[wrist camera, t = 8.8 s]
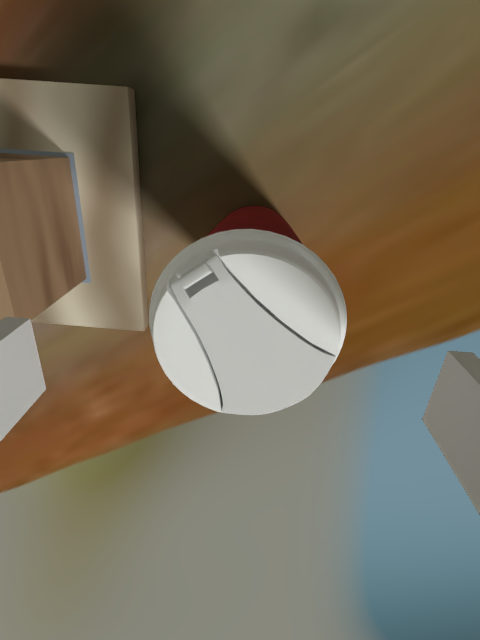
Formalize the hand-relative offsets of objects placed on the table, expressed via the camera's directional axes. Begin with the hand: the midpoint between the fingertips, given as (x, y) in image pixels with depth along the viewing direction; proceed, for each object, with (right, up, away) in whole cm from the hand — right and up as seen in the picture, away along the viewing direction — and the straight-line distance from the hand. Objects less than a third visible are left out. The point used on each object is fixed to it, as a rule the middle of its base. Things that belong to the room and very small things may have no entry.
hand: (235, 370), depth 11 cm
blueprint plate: (-15, +9, +14) cm, 22 cm away
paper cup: (+1, +7, +14) cm, 16 cm away
